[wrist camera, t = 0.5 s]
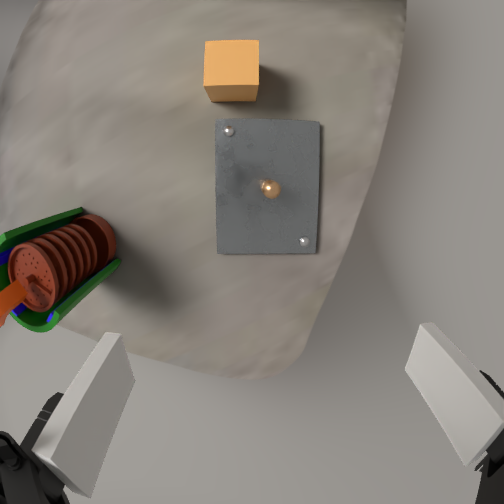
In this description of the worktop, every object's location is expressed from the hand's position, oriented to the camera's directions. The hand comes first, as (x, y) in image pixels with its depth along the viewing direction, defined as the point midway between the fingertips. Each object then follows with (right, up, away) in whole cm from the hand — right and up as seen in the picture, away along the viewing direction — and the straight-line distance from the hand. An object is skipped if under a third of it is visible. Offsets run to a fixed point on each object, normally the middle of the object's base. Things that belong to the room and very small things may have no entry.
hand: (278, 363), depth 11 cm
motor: (-23, +5, +23) cm, 34 cm away
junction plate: (+1, +12, +22) cm, 25 cm away
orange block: (-3, +25, +18) cm, 31 cm away
